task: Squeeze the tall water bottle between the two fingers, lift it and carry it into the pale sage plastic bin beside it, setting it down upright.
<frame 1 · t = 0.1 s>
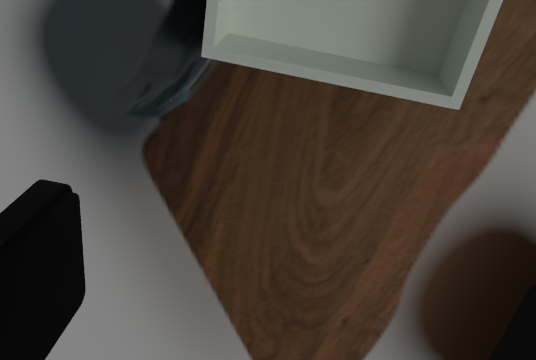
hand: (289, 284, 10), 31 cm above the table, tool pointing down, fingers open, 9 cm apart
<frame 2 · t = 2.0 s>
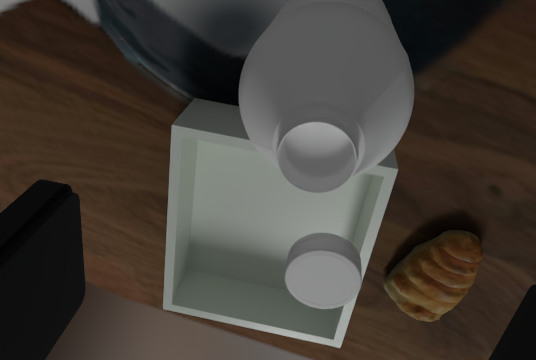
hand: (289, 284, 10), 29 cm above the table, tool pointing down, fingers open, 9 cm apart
water bottle: (335, 25, 35), on the table
bin: (274, 209, 44), on the table
pastry: (429, 265, 45), on the table
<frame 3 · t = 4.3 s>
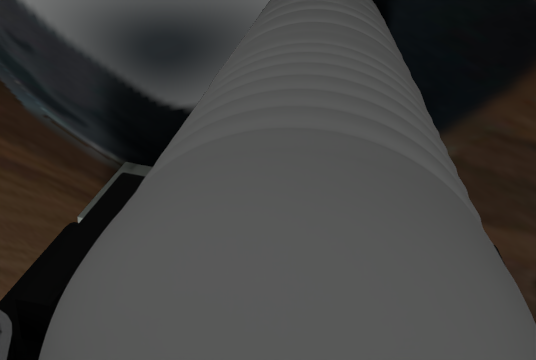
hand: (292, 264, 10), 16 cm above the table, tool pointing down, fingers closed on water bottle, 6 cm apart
water bottle: (320, 67, 24), on the table, touching gripper
bin: (242, 301, 33), on the table
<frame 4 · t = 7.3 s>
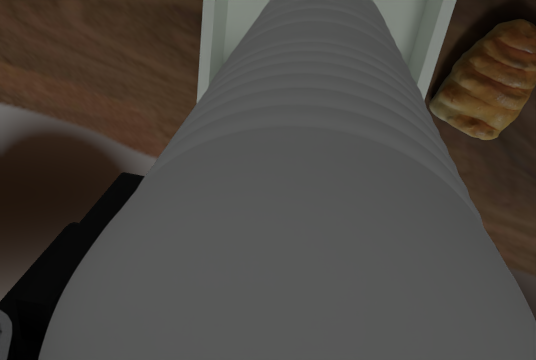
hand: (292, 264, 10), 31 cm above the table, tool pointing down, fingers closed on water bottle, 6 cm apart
water bottle: (320, 66, 24), point 16 cm above the table, touching gripper
bin: (321, 17, 38), on the table
pastry: (480, 79, 39), on the table
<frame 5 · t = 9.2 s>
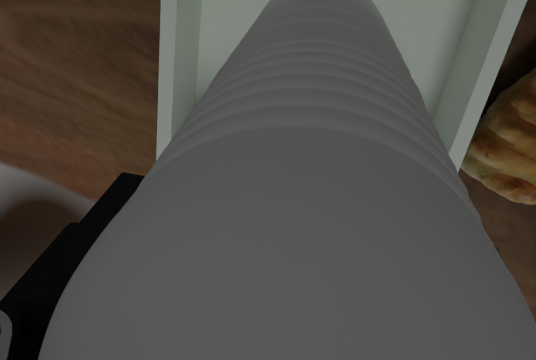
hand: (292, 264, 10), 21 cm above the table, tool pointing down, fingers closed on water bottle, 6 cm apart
water bottle: (320, 66, 24), point 5 cm above the table, touching gripper
bin: (324, 42, 29), on the table
pastry: (522, 124, 30), on the table
when the fingers open (18 cm above the table, at t = 10.8 s): water bottle drops 1 cm, resting on bin.
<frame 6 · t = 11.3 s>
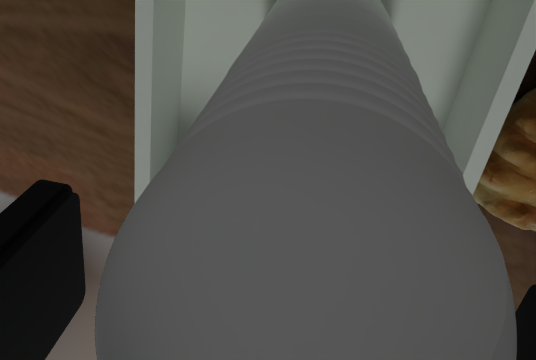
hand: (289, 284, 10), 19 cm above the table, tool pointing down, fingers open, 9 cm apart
water bottle: (328, 60, 25), point 1 cm above the table, touching bin
bin: (320, 55, 26), on the table
pastry: (528, 142, 27), on the table
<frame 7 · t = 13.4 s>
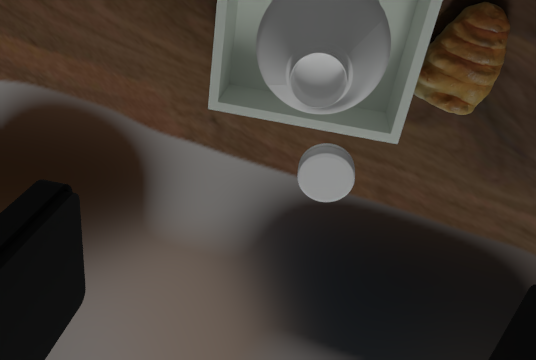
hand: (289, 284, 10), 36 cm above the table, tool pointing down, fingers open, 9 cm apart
water bottle: (330, 5, 40), point 1 cm above the table, touching bin
bin: (325, 2, 41), on the table
pastry: (454, 60, 43), on the table
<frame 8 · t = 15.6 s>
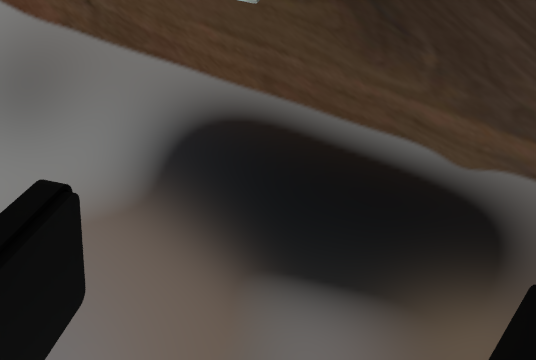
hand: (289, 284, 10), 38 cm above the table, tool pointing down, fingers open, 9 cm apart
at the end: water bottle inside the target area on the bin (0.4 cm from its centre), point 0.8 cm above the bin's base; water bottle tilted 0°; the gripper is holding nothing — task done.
